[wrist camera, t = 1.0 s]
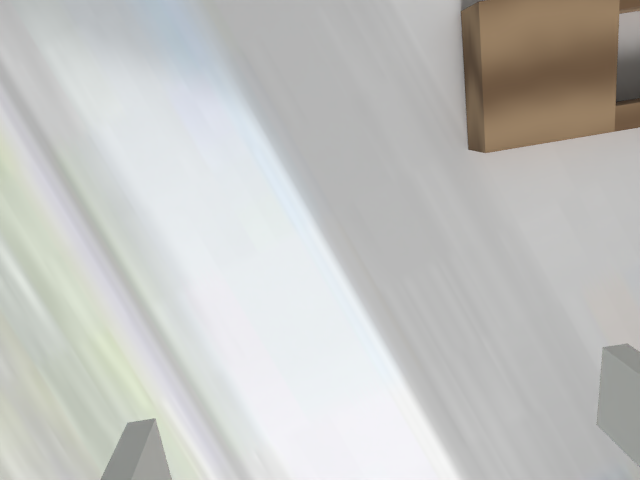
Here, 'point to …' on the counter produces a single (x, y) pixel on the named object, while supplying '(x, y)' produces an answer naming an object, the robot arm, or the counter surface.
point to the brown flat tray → (542, 71)
